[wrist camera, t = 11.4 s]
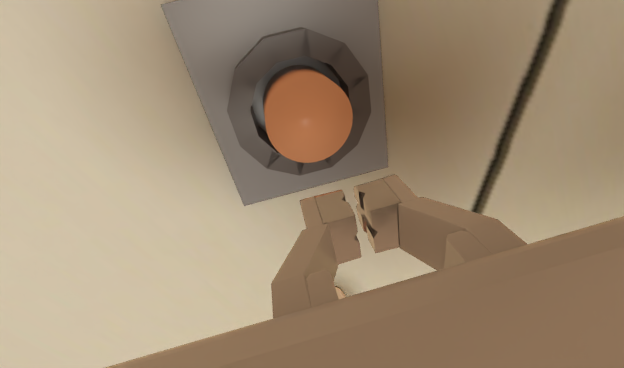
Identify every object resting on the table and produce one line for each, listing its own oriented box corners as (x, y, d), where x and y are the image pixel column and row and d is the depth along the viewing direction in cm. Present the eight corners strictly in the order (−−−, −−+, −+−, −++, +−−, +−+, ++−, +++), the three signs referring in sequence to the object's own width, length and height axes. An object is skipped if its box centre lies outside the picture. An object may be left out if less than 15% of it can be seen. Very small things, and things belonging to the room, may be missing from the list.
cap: (327, 57, 21) (347, 66, 16) (338, 127, 24) (357, 151, 19) (253, 74, 20) (253, 88, 16) (273, 144, 23) (278, 171, 19)
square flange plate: (369, -43, 19) (390, -54, 16) (384, 162, 27) (399, 179, 24) (164, 5, 18) (147, 2, 15) (244, 200, 27) (243, 222, 24)
